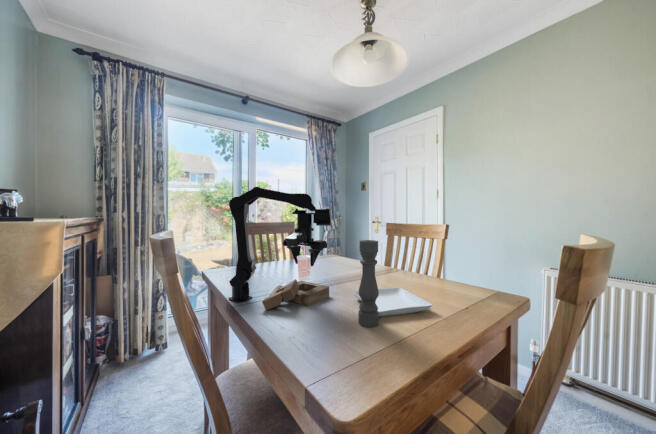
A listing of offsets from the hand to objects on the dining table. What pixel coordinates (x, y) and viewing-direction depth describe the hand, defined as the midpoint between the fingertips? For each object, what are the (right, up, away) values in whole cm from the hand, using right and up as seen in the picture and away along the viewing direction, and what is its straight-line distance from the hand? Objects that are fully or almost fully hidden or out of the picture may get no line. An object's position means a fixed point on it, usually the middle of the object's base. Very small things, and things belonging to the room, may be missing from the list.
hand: (304, 264), depth 98 cm
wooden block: (-8, -9, -14) cm, 19 cm away
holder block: (0, -13, 0) cm, 13 cm away
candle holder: (+22, -13, -23) cm, 34 cm away
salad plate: (+32, -14, -9) cm, 36 cm away
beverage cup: (0, -6, 0) cm, 6 cm away
